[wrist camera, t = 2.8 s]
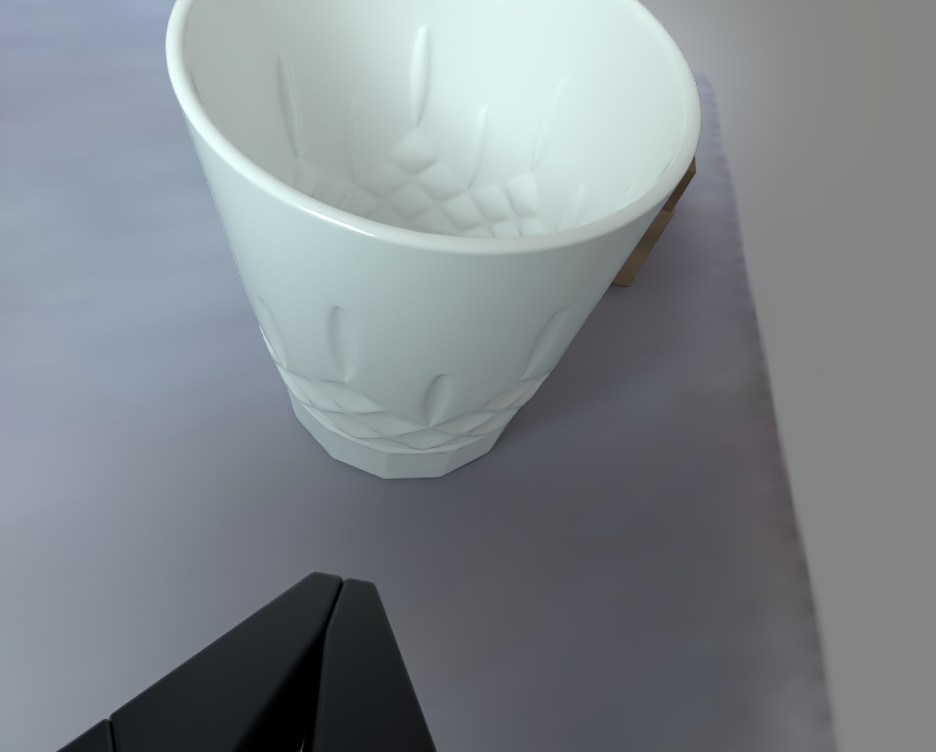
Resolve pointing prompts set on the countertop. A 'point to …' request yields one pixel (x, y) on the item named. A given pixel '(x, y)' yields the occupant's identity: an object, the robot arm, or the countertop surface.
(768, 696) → the countertop surface
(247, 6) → the white cup
